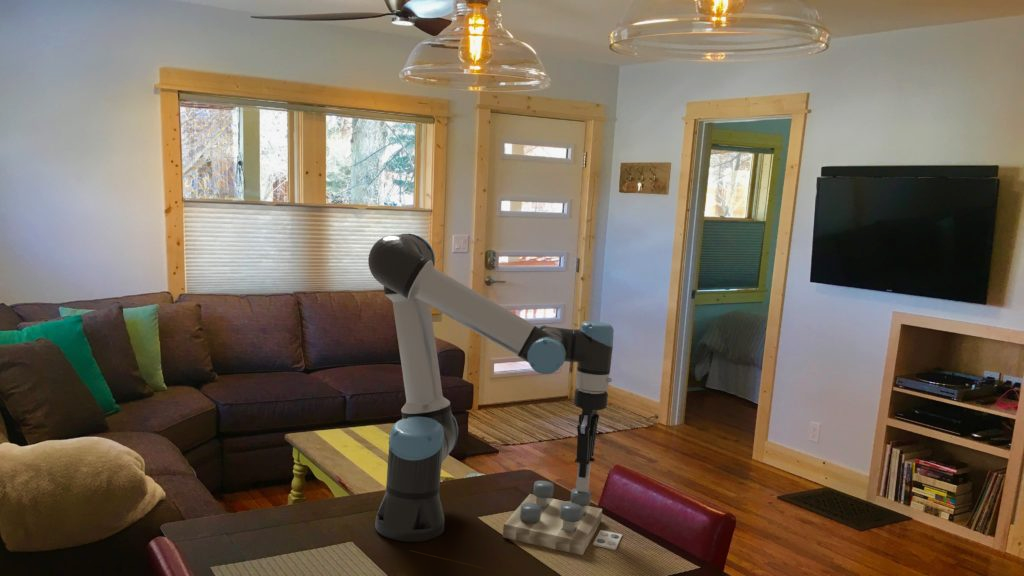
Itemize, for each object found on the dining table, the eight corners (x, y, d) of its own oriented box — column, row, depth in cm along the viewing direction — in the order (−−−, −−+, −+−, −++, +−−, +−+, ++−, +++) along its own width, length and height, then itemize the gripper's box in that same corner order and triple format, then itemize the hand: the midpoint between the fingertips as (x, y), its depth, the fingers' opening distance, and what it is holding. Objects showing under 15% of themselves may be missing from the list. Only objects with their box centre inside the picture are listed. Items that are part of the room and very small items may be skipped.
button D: (566, 516, 173) (569, 493, 172) (571, 509, 177) (573, 486, 177) (586, 521, 171) (588, 497, 171) (590, 513, 176) (593, 490, 175)
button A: (515, 533, 166) (518, 508, 166) (522, 525, 171) (524, 501, 170) (535, 537, 165) (538, 512, 164) (541, 529, 169) (543, 505, 169)
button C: (555, 533, 163) (558, 508, 163) (561, 525, 168) (563, 501, 167) (576, 537, 162) (579, 512, 161) (581, 529, 166) (583, 505, 166)
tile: (593, 545, 164) (593, 542, 164) (600, 531, 172) (600, 529, 172) (615, 550, 163) (615, 547, 163) (621, 536, 170) (622, 533, 170)
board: (502, 537, 164) (503, 524, 164) (528, 505, 183) (529, 493, 183) (582, 555, 159) (584, 541, 159) (601, 521, 178) (602, 508, 178)
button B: (529, 508, 175) (531, 485, 175) (535, 502, 180) (537, 479, 179) (548, 512, 174) (550, 489, 174) (553, 506, 178) (555, 483, 178)
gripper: (602, 398, 164) (592, 502, 166) (613, 386, 176) (603, 483, 179) (568, 393, 166) (559, 495, 169) (581, 381, 179) (572, 477, 181)
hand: (582, 489), depth 174 cm, fingers closed
